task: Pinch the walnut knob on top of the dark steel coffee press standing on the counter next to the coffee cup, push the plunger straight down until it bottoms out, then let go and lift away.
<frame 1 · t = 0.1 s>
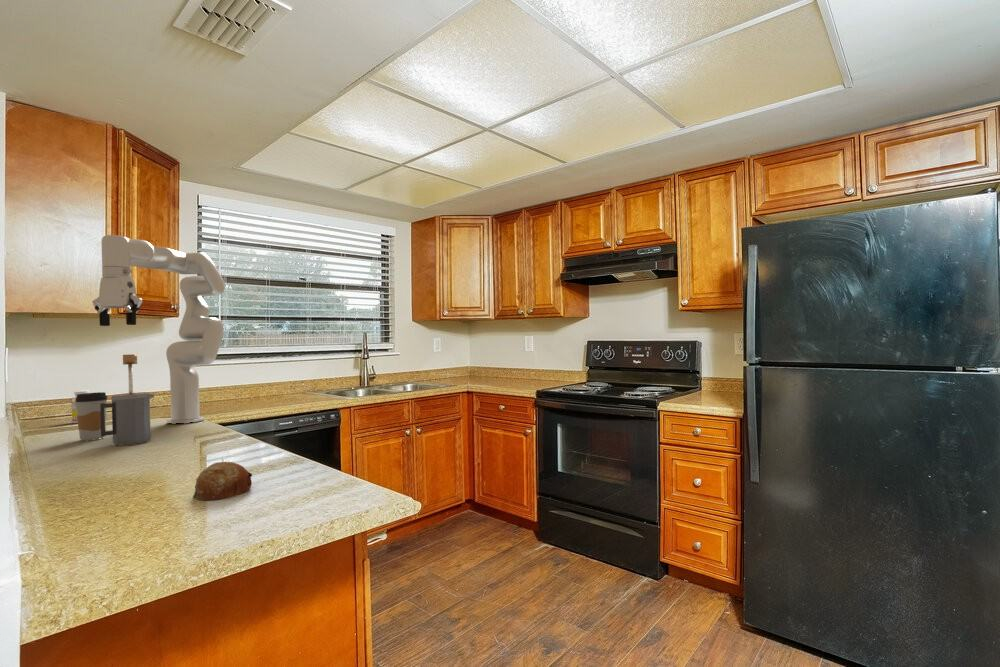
hand: (118, 325, 167), 37 cm above the countertop, tool pointing down, fingers open, 9 cm apart
coffee cup: (92, 439, 167), on the countertop
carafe: (132, 442, 158), on the countertop
plunger: (130, 385, 158), point 18 cm above the countertop, slide at 0.0 cm
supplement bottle: (82, 422, 208), on the countertop
bread roll: (224, 494, 101), on the countertop
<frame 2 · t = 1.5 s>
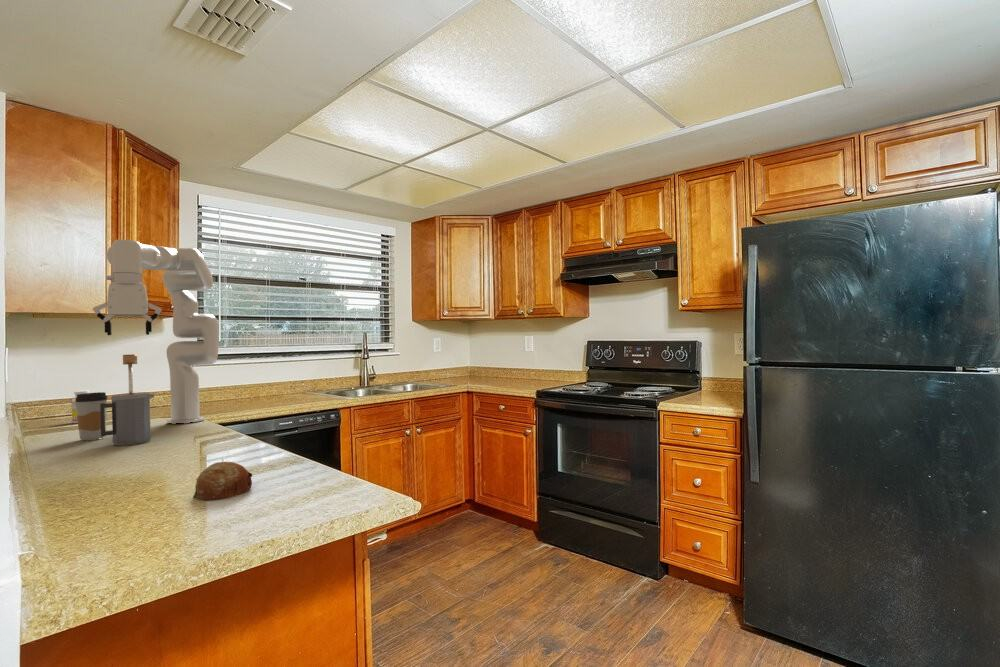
hand: (128, 334, 158), 34 cm above the countertop, tool pointing down, fingers open, 9 cm apart
nothing on the countertop moved.
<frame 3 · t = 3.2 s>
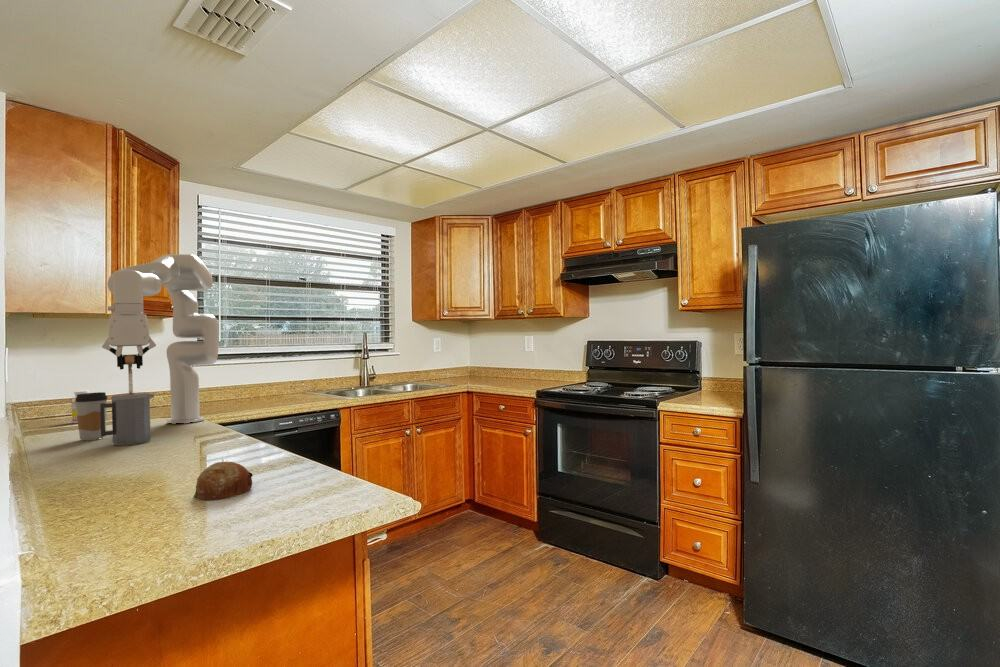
hand: (130, 368, 158), 23 cm above the countertop, tool pointing down, fingers closed on plunger, 3 cm apart
plunger: (130, 385, 158), point 18 cm above the countertop, slide at 0.0 cm, touching gripper
everything else where it was.
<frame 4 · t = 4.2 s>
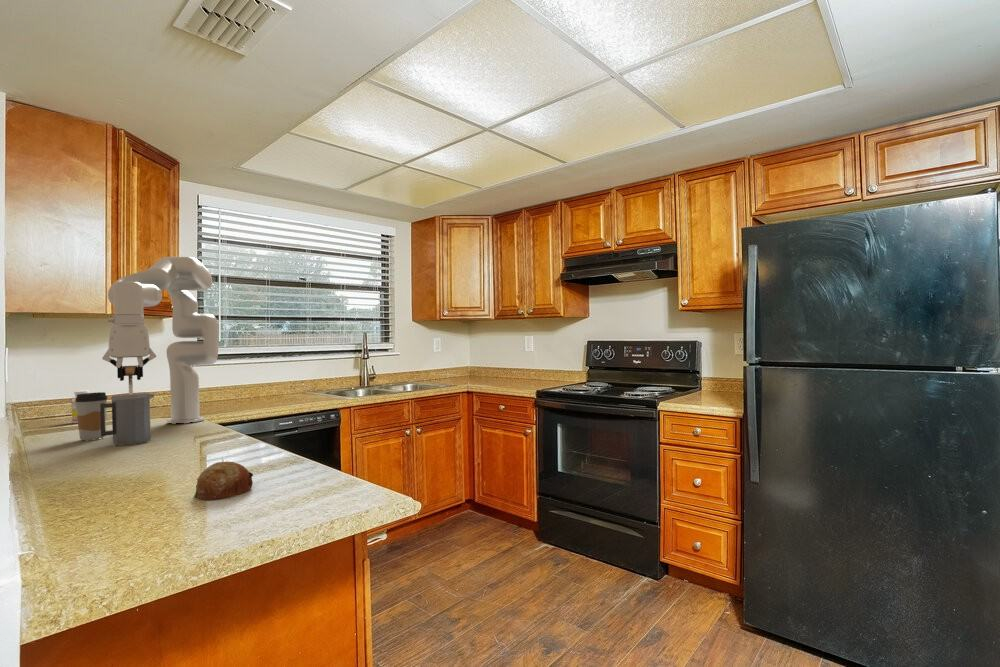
hand: (130, 379, 158), 20 cm above the countertop, tool pointing down, fingers closed on plunger, 3 cm apart
plunger: (130, 396, 158), point 14 cm above the countertop, slide at 3.5 cm, touching gripper
everything else where it was.
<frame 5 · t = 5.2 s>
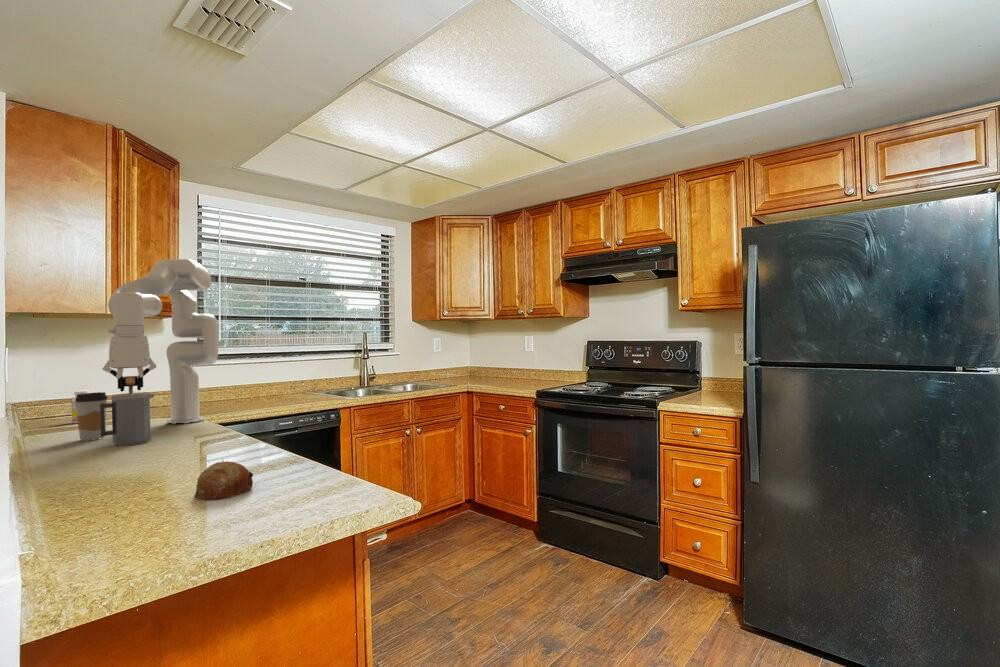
hand: (130, 389, 158), 16 cm above the countertop, tool pointing down, fingers closed on plunger, 3 cm apart
plunger: (131, 406, 158), point 11 cm above the countertop, slide at 6.8 cm, touching gripper
everything else where it was.
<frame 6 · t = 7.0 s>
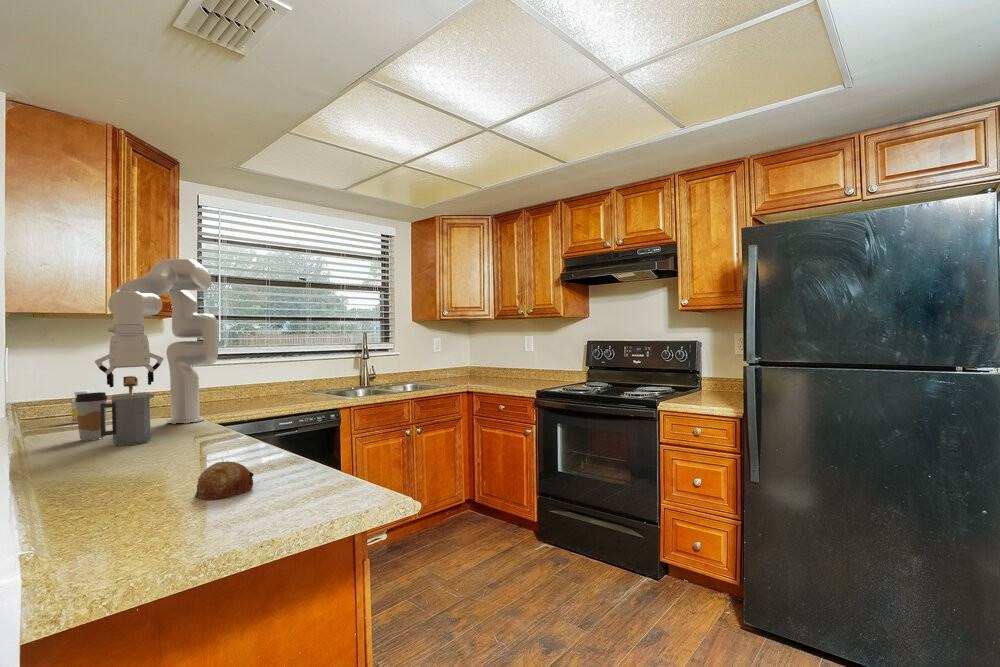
hand: (131, 385, 158), 18 cm above the countertop, tool pointing down, fingers open, 9 cm apart
plunger: (131, 406, 158), point 11 cm above the countertop, slide at 6.8 cm
everything else where it was.
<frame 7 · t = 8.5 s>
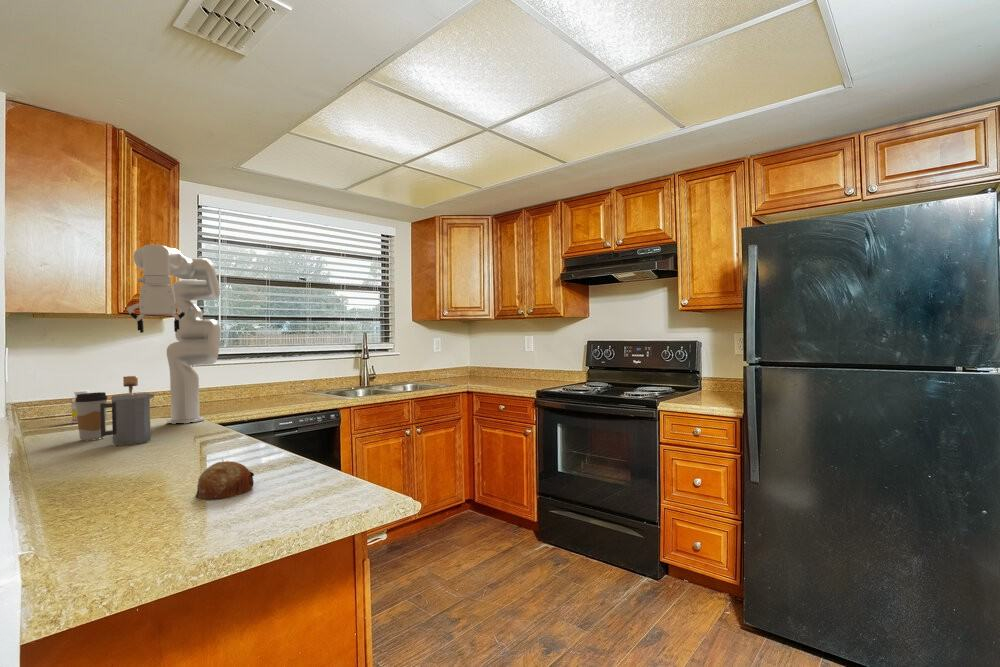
hand: (159, 332, 172), 35 cm above the countertop, tool pointing down, fingers open, 9 cm apart
nothing on the countertop moved.
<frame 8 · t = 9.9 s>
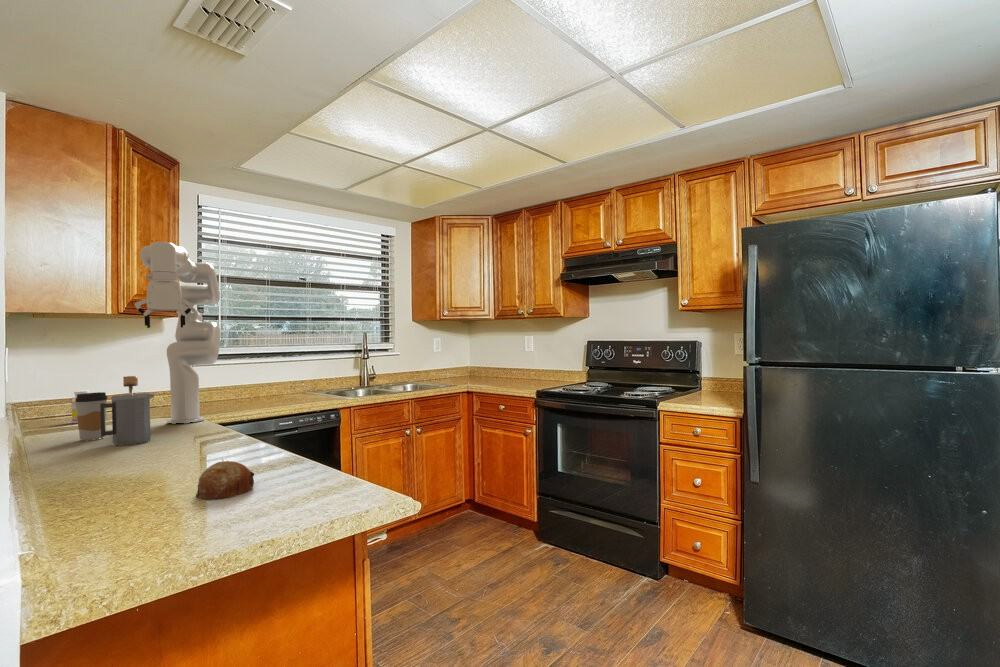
hand: (165, 327, 176), 36 cm above the countertop, tool pointing down, fingers open, 9 cm apart
nothing on the countertop moved.
at the end: plunger slide at 6.8 cm; the gripper is holding nothing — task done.
